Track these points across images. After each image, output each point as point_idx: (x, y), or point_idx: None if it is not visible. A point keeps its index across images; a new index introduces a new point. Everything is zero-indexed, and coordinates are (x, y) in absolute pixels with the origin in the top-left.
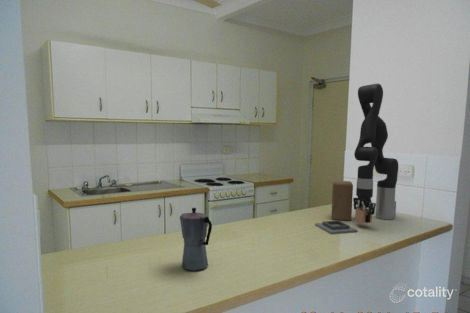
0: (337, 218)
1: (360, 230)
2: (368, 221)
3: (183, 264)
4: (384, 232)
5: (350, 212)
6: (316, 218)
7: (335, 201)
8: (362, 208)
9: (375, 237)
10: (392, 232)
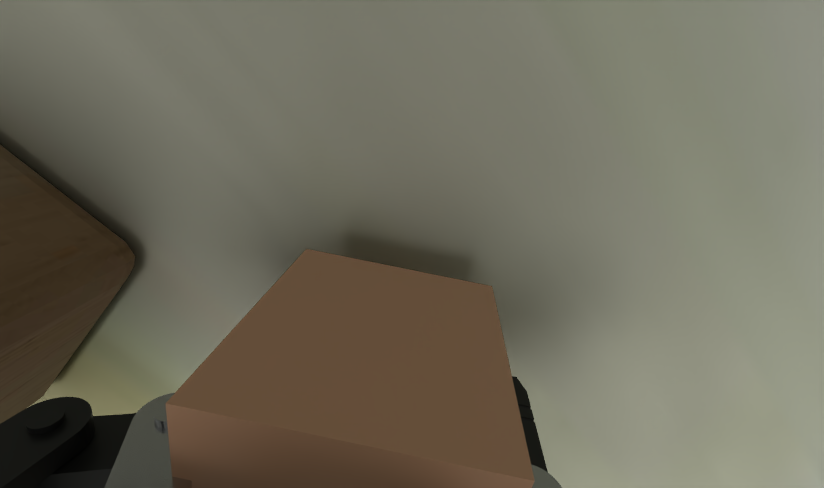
0: (61, 369)
1: None
2: None
3: None
4: (703, 259)
5: (17, 329)
6: None
7: None
8: (189, 486)
9: (721, 483)
10: (789, 151)
